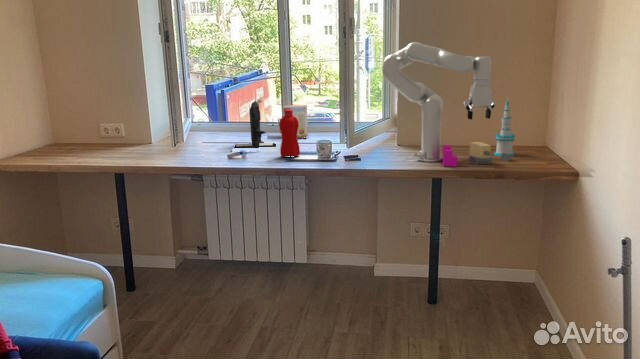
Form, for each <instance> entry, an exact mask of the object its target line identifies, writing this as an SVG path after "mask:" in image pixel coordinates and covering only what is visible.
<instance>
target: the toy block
mask: <svg viewBox="0 0 640 359" xmlns="http://www.w3.org/2000/svg"><path fill="white" fill-rule="evenodd" d="M441 156H442V158H443V159H442V161H441V162H442V165H443V167H452V168H454V167H455V168H458V161H459V160H458V155H455V154H454V152H453V149H452V145H448V144H447V145H445V144H444V145H442V155H441Z"/></svg>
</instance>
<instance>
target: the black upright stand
mask: <svg viewBox="0 0 640 359" xmlns="http://www.w3.org/2000/svg"><path fill="white" fill-rule="evenodd" d="M260 103H262V99H261V98H258V99H257V101H256V99H255V100H254V101H253V102H252V103H251V104H250V107H249V125H250V140H251V141H252V143H249V144H236V143H235V144H236V145H235V144H234V145H235V147H234V146H233V147H234V148H259V147H271V148H270V150H269V151H275V149H276V150H277V146H276V144H275V143H264V142H263V141H264V140H262V135H264V134H266V131H263V130H261V110H260V105H259V104H260ZM272 147H274V148H275V147H276V148H275V149H274V148H273V150H272ZM262 150H263V149H262ZM267 150H268V149H267ZM257 151H258V150H257ZM263 151H264V150H263ZM265 151H266V150H265ZM275 152H276V151H275ZM249 153H252V152H251V151H250V152H249Z"/></svg>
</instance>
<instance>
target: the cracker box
mask: <svg viewBox="0 0 640 359" xmlns="http://www.w3.org/2000/svg"><path fill="white" fill-rule="evenodd" d="M307 107H308V106H307V104H289V105H288V104H287V105H286V104H285V105H284V106H283V112H284V111H286V110H292V111H293V116H295V117H296V118H297V120H298V123H299V126H298V132H297V138H304V137H305V138H306V137H307V136H308V137H309V132H308V130H309V129H308V108H307Z"/></svg>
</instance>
